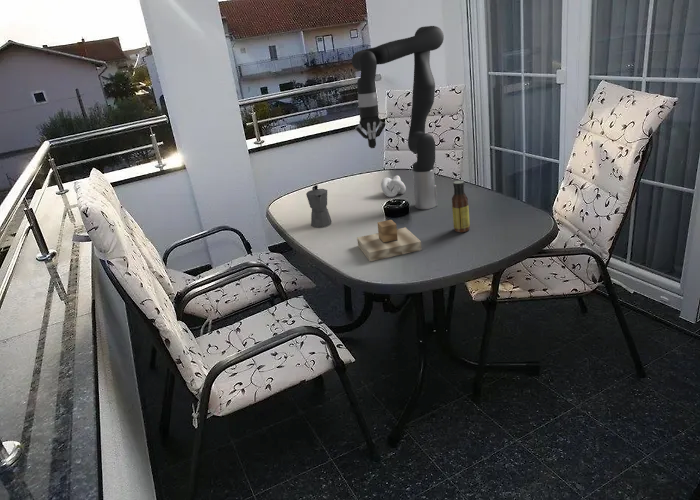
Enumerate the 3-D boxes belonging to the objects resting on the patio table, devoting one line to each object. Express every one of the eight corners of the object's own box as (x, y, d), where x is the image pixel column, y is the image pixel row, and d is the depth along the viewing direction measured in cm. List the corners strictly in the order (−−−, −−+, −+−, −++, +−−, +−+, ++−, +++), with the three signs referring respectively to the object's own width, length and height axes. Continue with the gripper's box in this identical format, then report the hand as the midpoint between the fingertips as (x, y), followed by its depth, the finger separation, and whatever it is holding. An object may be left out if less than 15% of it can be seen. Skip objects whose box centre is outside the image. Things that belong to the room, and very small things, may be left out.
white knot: (411, 192, 249) (409, 174, 246) (400, 199, 240) (398, 181, 237) (391, 190, 255) (389, 173, 252) (379, 198, 246) (378, 180, 243)
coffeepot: (334, 226, 217) (329, 187, 210) (313, 231, 215) (307, 191, 208) (328, 216, 231) (322, 178, 223) (308, 219, 229) (302, 182, 222)
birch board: (406, 235, 199) (405, 227, 197) (421, 250, 184) (420, 241, 183) (358, 245, 195) (357, 237, 193) (369, 261, 180) (368, 252, 179)
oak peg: (393, 242, 192) (391, 219, 189) (398, 247, 187) (396, 224, 184) (379, 245, 191) (377, 222, 188) (384, 250, 186) (381, 227, 183)
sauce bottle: (470, 227, 199) (469, 179, 191) (468, 233, 193) (467, 184, 185) (454, 227, 201) (452, 179, 193) (451, 233, 196) (450, 184, 188)
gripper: (381, 101, 203) (384, 143, 209) (349, 106, 200) (354, 148, 207) (387, 103, 196) (390, 146, 203) (354, 108, 193) (359, 152, 200)
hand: (372, 147), depth 205 cm, fingers closed
